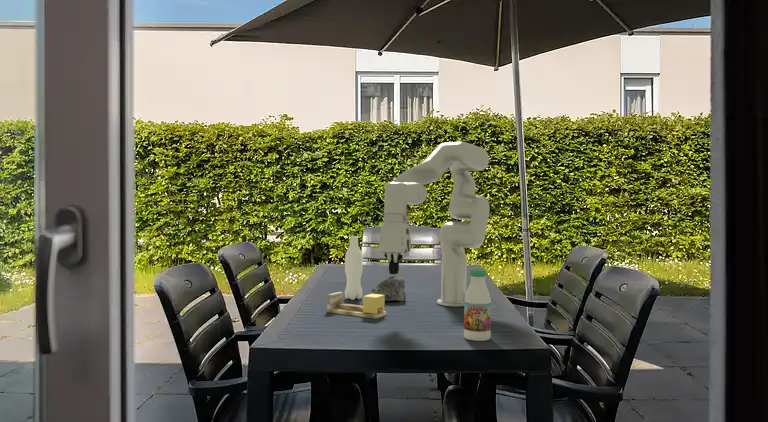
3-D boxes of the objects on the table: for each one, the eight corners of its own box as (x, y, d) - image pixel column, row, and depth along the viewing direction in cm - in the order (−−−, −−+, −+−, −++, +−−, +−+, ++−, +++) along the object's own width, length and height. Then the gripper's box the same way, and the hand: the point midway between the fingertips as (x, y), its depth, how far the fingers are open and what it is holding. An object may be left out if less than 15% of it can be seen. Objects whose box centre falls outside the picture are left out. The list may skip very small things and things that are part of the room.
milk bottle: (461, 335, 167) (462, 268, 166) (486, 334, 167) (487, 268, 167) (467, 341, 159) (468, 271, 159) (493, 341, 160) (494, 271, 159)
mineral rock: (369, 302, 216) (370, 276, 216) (376, 297, 227) (376, 273, 227) (402, 304, 214) (402, 278, 213) (407, 299, 224) (407, 274, 224)
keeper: (384, 310, 194) (384, 295, 193) (375, 313, 188) (375, 297, 188) (372, 309, 196) (372, 293, 196) (363, 312, 191) (363, 296, 191)
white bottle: (363, 297, 227) (364, 235, 226) (361, 300, 220) (361, 237, 219) (346, 296, 227) (346, 235, 227) (343, 300, 220) (343, 236, 220)
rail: (386, 315, 194) (386, 297, 194) (376, 318, 188) (376, 300, 187) (338, 308, 204) (338, 291, 203) (327, 312, 198) (327, 294, 197)
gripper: (420, 219, 187) (418, 274, 187) (381, 218, 194) (380, 271, 194) (410, 220, 180) (408, 276, 180) (370, 218, 188) (368, 273, 188)
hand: (393, 273), depth 187 cm, fingers closed
